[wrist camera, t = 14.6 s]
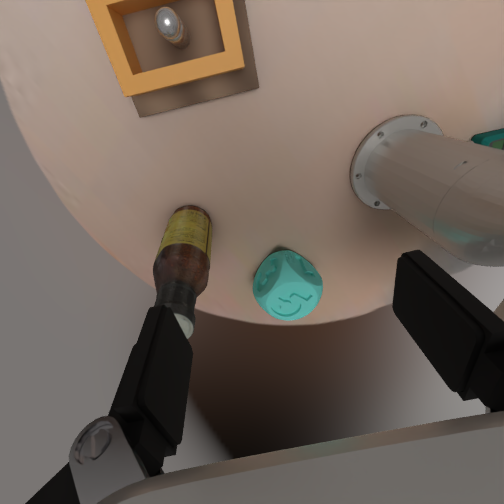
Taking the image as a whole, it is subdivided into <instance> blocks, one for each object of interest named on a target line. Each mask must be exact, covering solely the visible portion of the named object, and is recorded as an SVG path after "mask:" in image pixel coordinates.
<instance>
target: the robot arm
mask: <svg viewBox="0 0 504 504" xmlns="http://www.w3.org/2000/svg"><path fill="white" fill-rule="evenodd" d="M378 133H379V134H378ZM377 134H378V136H377ZM356 175H357V176H356ZM350 178H351V184H352V188H353V190H354V192H355V194H356V195H357V197H358V198H359V199H360V200H361V201H362V202H363V203H365V204H366V205H368V206H370V207H372V208H375V209H382V210H387V209H392V210H393V211H395V212H396V213H397V214H399V215H400V216H401V217H403V218H404V219H405V220H407V221H408V222H409V223H411V224H412V225H413V226H415V227H416V228H417V229H419V230H420V231H421V232H423V233H424V234H425V235H427V236H428V237H429V238H431V239H432V240H433V241H435V242H436V243H437V244H439V245H440V246H441V247H442V248H444V249H445V250H446V251H448V252H449V253H450V254H452V255H454V256H455V257H457V258H458V259H461V260H463V261H465V262H468V263H472V264H475V265H481V266H493V267H497V266H498V267H499V266H504V150H501V149H497V148H493V147H488V146H484V145H480V144H476V143H474V142H473V141H463V140H459V139H454V138H450V137H446V136H444V135H443V133H442V131H441V129H440V128H439V126H438V125H437V124H436V123H435V122H433V121H432V120H430V119H429V118H426V117H423V116H419V115H402V116H398V117H394V118H392V119H390V120H387V121H385V122H384V123H382V124H381V125H379V126H377V127H376V128H375V129H374V130H373V131H372V132H371V133H369V134H368V136H367V137H366V138H365V139H364V140H363V142H362V143H361V145H360V146H359V148H358V150H357V151H356V154H355V156H354V159H353V162H352V166H351V176H350ZM393 311H394V313H395V315H396V316H397V318H398V319H399V320H400V322H401V323H402V324H403V326H404V327H405V328H406V330H407V331H408V333H409V334H410V335H411V337H412V338H413V339H414V341H415V342H416V343H417V345H418V346H419V348H420V349H421V350H422V352H423V353H424V354H425V356H426V357H427V359H428V360H429V361H430V363H431V364H432V365H433V367H434V368H435V369H436V371H437V372H438V373H439V375H440V376H441V377H442V379H443V380H444V382H445V383H446V385H447V386H448V387H449V388H450V389H451V390H452V391H453V392H457V393H458V394H459V396H460V397H461V398H462V400H463V401H466V400H471V399H476V398H479V399H480V400H481V402H482V403H483V404H484V405H485V406H486V413H485V414H481V415H475V416H469V417H462V418H456V419H450V420H444V421H439V422H433V423H428V424H422V425H417V426H412V427H406V428H400V429H394V430H389V431H383V432H378V433H372V434H367V435H361V436H356V437H350V438H345V439H339V440H334V441H329V442H324V443H318V444H312V445H307V446H302V447H296V448H291V449H286V450H280V451H275V452H270V453H265V454H260V455H254V456H249V457H243V458H239V459H233V460H228V461H222V462H218V463H212V464H207V465H203V466H198V467H193V468H188V469H183V470H179V471H174V472H169V473H164V471H163V470H162V468H161V467H162V466H163V461H164V457H167V456H172V455H176V449H177V445H178V444H180V443H181V441H182V435H183V427H184V419H185V412H186V404H187V396H188V388H189V380H190V373H191V365H192V358H193V352H192V348H191V345H190V344H189V342H188V340H187V338H186V336H185V334H184V332H183V330H182V328H181V326H180V324H179V323H178V321H177V319H176V317H175V315H174V313H173V311H172V309H171V308H170V307H166V306H165V305H159V306H154V307H150V308H149V310H148V312H147V315H146V318H145V321H144V324H143V327H142V330H141V332H140V335H139V338H138V341H137V343H136V344H135V345H134V346H133V348H132V351H131V354H130V356H129V359H128V362H127V365H126V367H125V370H124V373H123V376H122V379H121V381H120V384H119V387H118V389H117V392H116V395H115V398H114V401H113V403H112V406H111V409H110V412H109V414H108V416H103V417H100V418H97V419H95V420H94V421H92V422H91V423H89V424H88V425H87V426H86V427H85V428H84V429H83V430H82V431H81V432H80V433H79V435H78V436H77V438H76V439H75V441H74V443H73V445H72V447H71V450H70V453H69V462H68V464H66V465H65V466H64V467H63V468H62V469H61V470H60V471H59V472H58V473H57V474H56V475H55V476H54V477H53V478H52V479H51V480H50V481H49V482H47V483H46V484H45V485H44V486H43V487H42V488H41V489H40V490H39V491H38V492H37V493H36V494H35V495H34V496H33V497H32V498H31V499H30V500H29V501H28V502H27V503H25V504H504V299H503V301H502V302H501V303H500V305H499V306H498V307H497V308H496V310H495V311H494V312H492V311H491V310H490V309H489V308H488V307H486V306H485V305H484V304H483V303H482V302H480V301H479V300H478V299H477V298H476V297H475V296H474V295H472V294H471V293H470V292H469V291H468V290H467V289H465V288H464V287H463V286H462V285H461V284H459V283H458V282H457V281H456V280H455V279H454V278H452V277H451V276H450V275H449V274H448V273H447V272H445V271H444V270H443V269H442V268H441V267H440V266H438V265H437V264H436V263H435V262H434V261H433V260H431V259H430V258H429V257H428V256H427V255H425V254H424V253H423V252H422V251H420V250H415V251H410V252H406V253H403V254H402V255H401V257H400V258H398V260H397V269H396V278H395V287H394V296H393Z"/></svg>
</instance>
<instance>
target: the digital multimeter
mask: <svg viewBox="0 0 504 504" xmlns="http://www.w3.org/2000/svg"><path fill="white" fill-rule="evenodd" d="M471 141H473V142H474V143H476V144H480V145H484V146H488V147H493V148H497V149H501V150H504V129H500V130H495V131H491V132H486V133H482V134H477V135H475V136H474V137H473V138H472V140H471Z"/></svg>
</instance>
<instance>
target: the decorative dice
mask: <svg viewBox="0 0 504 504" xmlns="http://www.w3.org/2000/svg"><path fill="white" fill-rule="evenodd" d="M322 290H323V283H322V278H321V276H320V275H319V273H318V272H317V270H316V269H315V268H314V267H313V266H312V265H311V264H310V263H309V262H308V261H307V260H305V259H304V258H303V257H301V256H300V255H298V254H297V253H295V252H293V251H289V250H283V251H278V252H275V253H272V254H271V255H269V256H268V257H267V258H266V259H265V260H264V261H263V263H262V264H261V265H260V267H259V269H258V271H257V273H256V275H255V278H254V282H253V293H254V296H255V299H256V301H257V302H258V304H259V305H260V306H261V307H262V308H263V309H264V310H265V311H266V312H267V313H268V314H270V315H271V316H273V317H275V318H277V319H280V320H296V319H299V318H302V317H304V316H306V315H308V314H309V313H310V312H311V311H312V310H313V309H314V308H315V307H316V306H317V304H318V302H319V300H320V298H321V295H322Z"/></svg>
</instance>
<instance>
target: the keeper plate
mask: <svg viewBox="0 0 504 504" xmlns="http://www.w3.org/2000/svg"><path fill="white" fill-rule="evenodd" d="M233 5H234V11H235V16H236V22H237V27H238V33H239V38H240V43H241V49H242V54H243V60H244V65H245V67H244V68H243V69H240V70H236V71H232V72H228V73H224V74H220V75H216V76H212V77H208V78H204V79H201V80H197V81H193V82H189V83H185V84H181V85H177V86H173V87H169V88H165V89H161V90H157V91H153V92H149V93H145V94H141V95H137V96H131V97H132V99H133V102H134V104H135V107H136V109H137V112H138V114H139V117H144V116H148V115H152V114H156V113H160V112H164V111H168V110H172V109H176V108H180V107H184V106H188V105H192V104H196V103H200V102H204V101H208V100H212V99H216V98H220V97H224V96H228V95H232V94H236V93H240V92H244V91H248V90H252V89H256V88H259V84H258V78H257V72H256V66H255V60H254V54H253V48H252V42H251V36H250V30H249V24H248V18H247V12H246V6H245V0H233ZM122 17H123V20H124V22H125V25H126V28H127V31H128V33H129V36H130V39H131V42H132V44H133V47H134V50H135V53H136V56H137V58H138V61H139V64H140V67H141V69H142V72H147V71H151V70H155V69H158V68H162V67H166V66H170V65H174V64H178V63H182V62H186V61H189V60H193V59H197V58H201V57H205V56H209V55H213V54H217V53H221V52H224V51H225V50H224V45H223V40H222V36H221V31H220V26H219V22H218V17H217V12H216V7H215V3H214V0H179V1H175V2H171V3H167V4H164V5H160V6H156V7H153V8H149V9H145V10H141V11H138V12H134V13H130V14H127V15H123V16H122Z"/></svg>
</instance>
